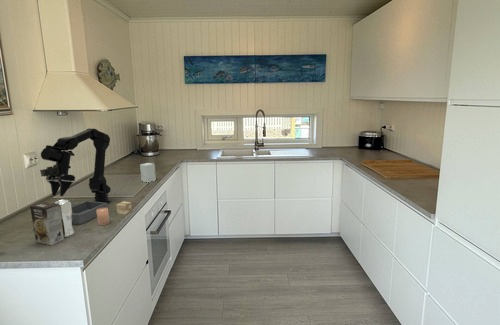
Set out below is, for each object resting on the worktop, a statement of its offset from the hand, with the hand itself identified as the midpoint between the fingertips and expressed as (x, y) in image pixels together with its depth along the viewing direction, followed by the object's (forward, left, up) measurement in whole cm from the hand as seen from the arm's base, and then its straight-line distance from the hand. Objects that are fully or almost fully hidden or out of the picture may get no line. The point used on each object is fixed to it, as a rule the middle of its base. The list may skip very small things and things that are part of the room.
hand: (57, 195), depth 150 cm
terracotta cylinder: (-5, +21, -13) cm, 25 cm away
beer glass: (+10, +14, -14) cm, 22 cm away
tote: (-9, +5, -13) cm, 17 cm away
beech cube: (-20, +20, -13) cm, 32 cm away
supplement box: (-77, -7, -14) cm, 79 cm away
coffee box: (+17, +13, -14) cm, 26 cm away
